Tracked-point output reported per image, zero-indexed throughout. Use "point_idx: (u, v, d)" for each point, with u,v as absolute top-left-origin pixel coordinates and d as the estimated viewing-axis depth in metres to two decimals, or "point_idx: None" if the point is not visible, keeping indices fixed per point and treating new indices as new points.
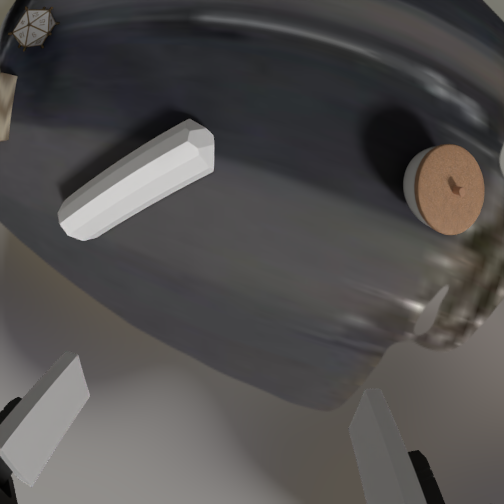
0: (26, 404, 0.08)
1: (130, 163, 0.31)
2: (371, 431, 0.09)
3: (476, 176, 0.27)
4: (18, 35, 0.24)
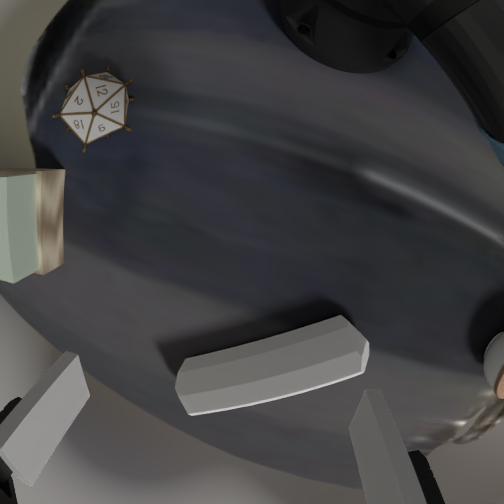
0: (26, 404, 0.08)
1: (289, 376, 0.29)
2: (372, 430, 0.09)
3: None
4: (72, 123, 0.22)
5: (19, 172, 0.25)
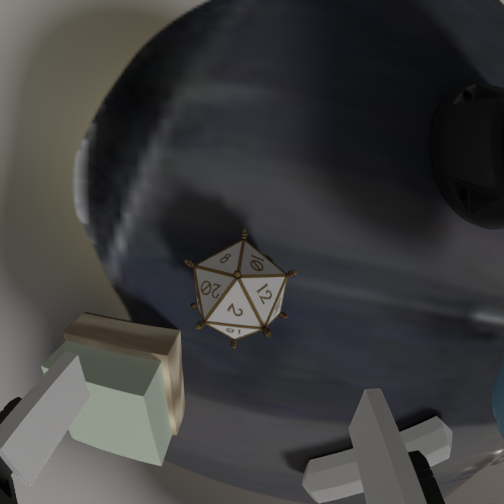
0: (26, 404, 0.08)
1: None
2: (372, 431, 0.09)
3: None
4: (223, 328, 0.22)
5: (127, 349, 0.25)
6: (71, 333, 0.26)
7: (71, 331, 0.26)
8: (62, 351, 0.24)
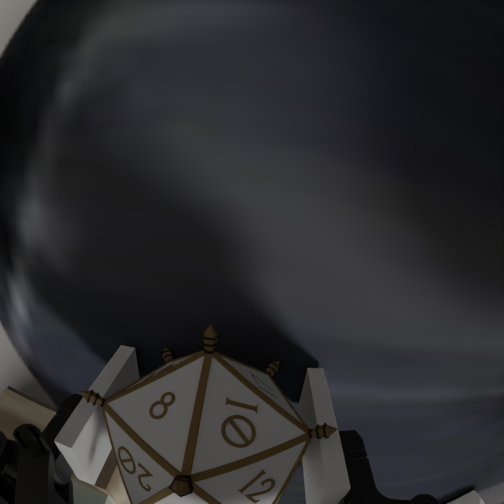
0: None
1: None
2: (309, 407, 0.11)
3: None
4: None
5: None
6: None
7: None
8: None
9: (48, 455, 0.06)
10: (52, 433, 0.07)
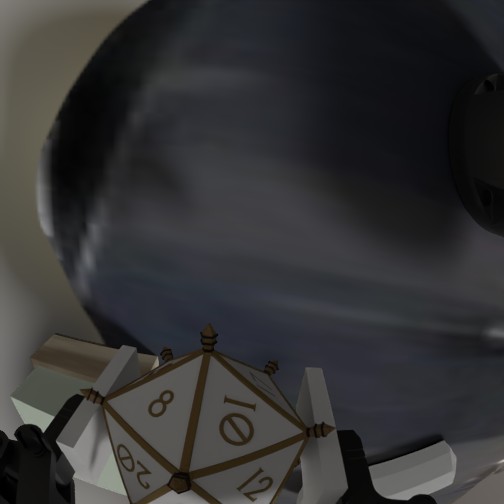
0: None
1: (406, 492, 0.24)
2: (307, 407, 0.11)
3: None
4: None
5: None
6: (39, 359, 0.21)
7: (39, 356, 0.21)
8: (33, 379, 0.19)
9: (50, 455, 0.06)
10: (53, 433, 0.07)
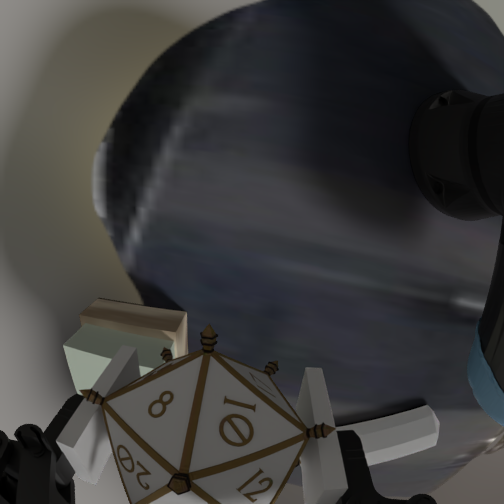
0: None
1: (394, 448, 0.33)
2: (307, 406, 0.11)
3: None
4: None
5: (139, 328, 0.29)
6: (87, 315, 0.29)
7: (87, 313, 0.30)
8: (82, 332, 0.28)
9: (50, 455, 0.06)
10: (54, 433, 0.07)
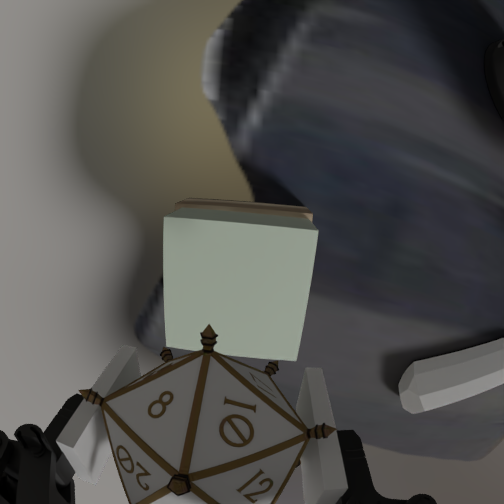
0: None
1: (491, 376, 0.29)
2: (307, 406, 0.11)
3: None
4: None
5: (265, 211, 0.25)
6: (187, 204, 0.26)
7: (186, 203, 0.26)
8: (184, 211, 0.24)
9: (50, 455, 0.06)
10: (54, 433, 0.07)
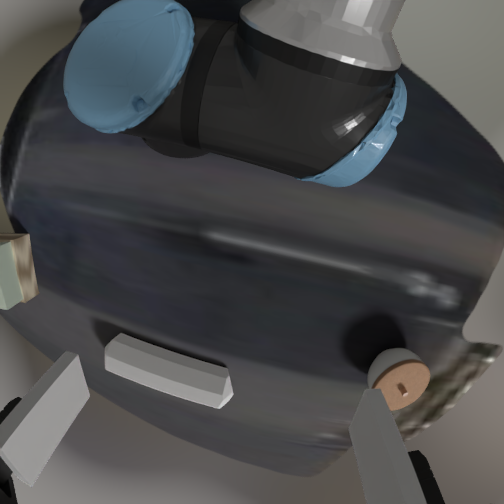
0: (26, 404, 0.08)
1: (177, 384, 0.43)
2: (371, 431, 0.09)
3: (423, 376, 0.39)
4: None
5: (1, 240, 0.39)
6: None
7: None
8: None
9: None
10: None
